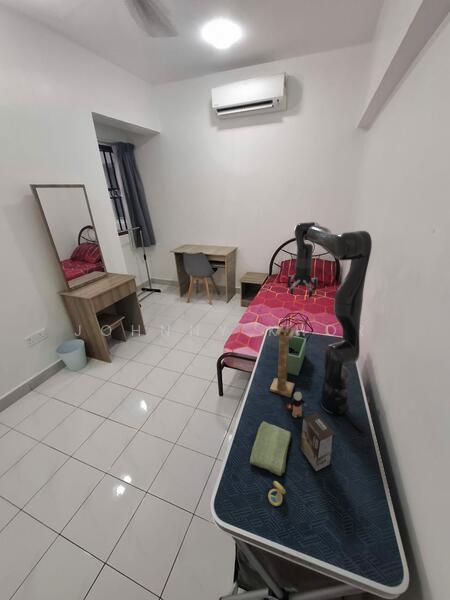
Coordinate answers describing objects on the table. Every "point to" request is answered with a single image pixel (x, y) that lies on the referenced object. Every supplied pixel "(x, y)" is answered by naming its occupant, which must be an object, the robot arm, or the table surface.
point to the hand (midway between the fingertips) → (301, 295)
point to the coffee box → (317, 441)
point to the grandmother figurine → (297, 404)
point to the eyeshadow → (276, 494)
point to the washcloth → (270, 448)
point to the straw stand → (283, 363)
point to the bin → (293, 359)
